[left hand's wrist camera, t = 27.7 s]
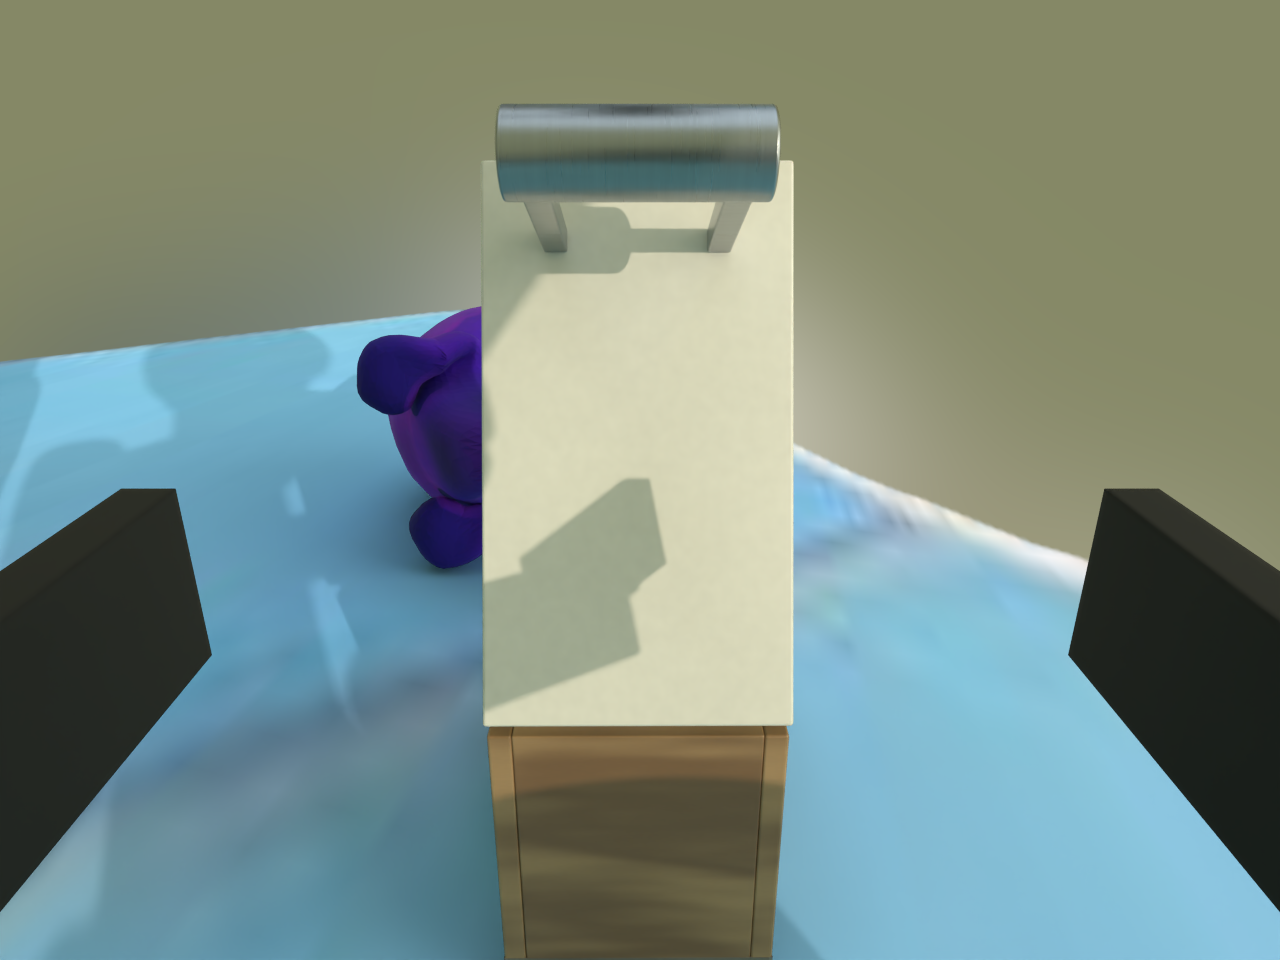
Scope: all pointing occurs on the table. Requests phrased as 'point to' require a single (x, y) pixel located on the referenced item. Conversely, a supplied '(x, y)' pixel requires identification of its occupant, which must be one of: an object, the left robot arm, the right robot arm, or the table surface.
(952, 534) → the table surface
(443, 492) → the toy
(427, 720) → the table surface
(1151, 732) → the left robot arm
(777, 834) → the chest
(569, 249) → the lid
